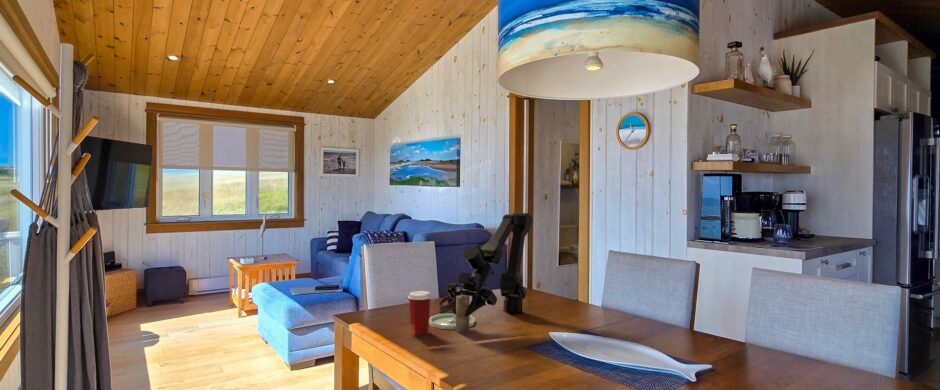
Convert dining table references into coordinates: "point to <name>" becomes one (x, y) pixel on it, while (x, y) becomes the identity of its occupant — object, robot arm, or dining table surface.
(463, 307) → the pepper grinder
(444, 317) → the green tray
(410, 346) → the dining table surface
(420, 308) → the paper cup
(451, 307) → the brown hollow cylinder
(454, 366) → the dining table surface
